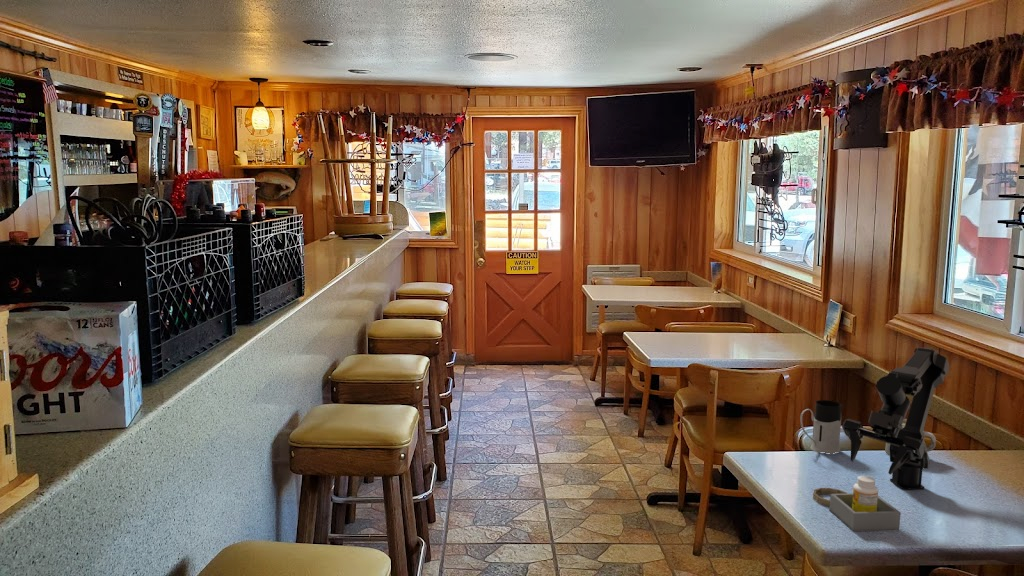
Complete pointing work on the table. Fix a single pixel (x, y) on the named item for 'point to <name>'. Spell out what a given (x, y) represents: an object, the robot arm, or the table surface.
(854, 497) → the supplement bottle
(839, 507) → the bin
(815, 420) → the glass holder
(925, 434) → the coffee mug
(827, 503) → the stud collar
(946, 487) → the table surface
